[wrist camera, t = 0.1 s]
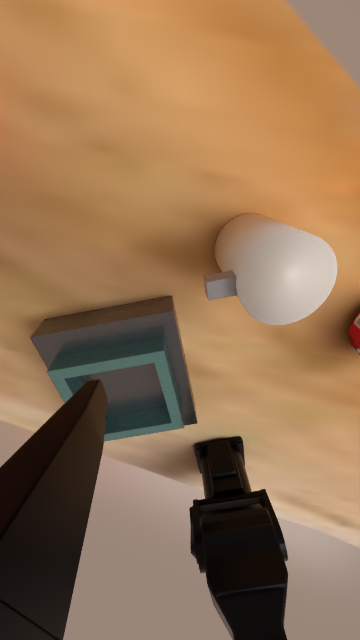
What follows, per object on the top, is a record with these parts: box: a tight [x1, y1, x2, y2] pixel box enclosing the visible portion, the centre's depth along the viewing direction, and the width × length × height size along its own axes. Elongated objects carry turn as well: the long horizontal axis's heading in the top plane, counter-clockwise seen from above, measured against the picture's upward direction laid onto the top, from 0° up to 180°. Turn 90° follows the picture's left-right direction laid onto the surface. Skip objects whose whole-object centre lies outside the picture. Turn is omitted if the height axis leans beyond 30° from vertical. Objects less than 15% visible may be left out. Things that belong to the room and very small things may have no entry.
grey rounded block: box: [203, 213, 337, 325], centre depth 18 cm, size 6×7×8 cm
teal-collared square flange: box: [30, 296, 197, 441], centre depth 24 cm, size 14×12×5 cm
